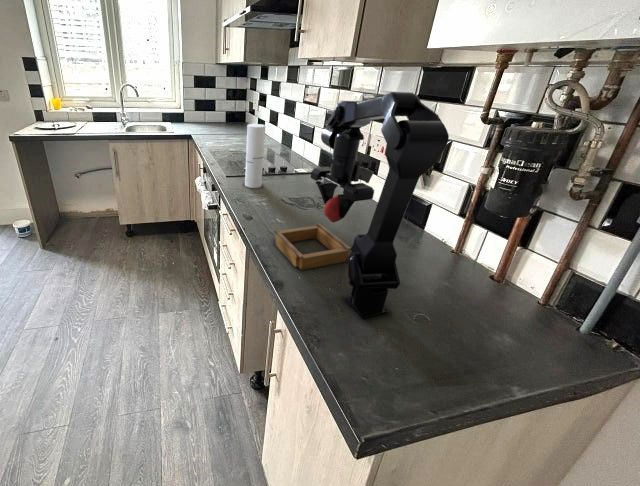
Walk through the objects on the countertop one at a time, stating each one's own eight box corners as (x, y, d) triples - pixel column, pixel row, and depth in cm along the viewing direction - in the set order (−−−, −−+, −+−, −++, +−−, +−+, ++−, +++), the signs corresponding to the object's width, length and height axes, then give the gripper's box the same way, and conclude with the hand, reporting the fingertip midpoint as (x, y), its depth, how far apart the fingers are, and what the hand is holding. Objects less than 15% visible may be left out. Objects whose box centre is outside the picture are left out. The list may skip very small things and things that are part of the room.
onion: (346, 220, 87) (351, 193, 84) (341, 228, 83) (346, 200, 79) (325, 215, 90) (329, 188, 87) (319, 223, 85) (323, 195, 82)
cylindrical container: (261, 188, 135) (265, 127, 124) (244, 187, 135) (247, 126, 124) (261, 182, 141) (264, 124, 130) (245, 182, 141) (247, 123, 130)
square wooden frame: (348, 261, 86) (351, 247, 84) (298, 270, 81) (300, 256, 80) (317, 235, 99) (319, 223, 97) (273, 241, 94) (274, 229, 92)
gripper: (399, 163, 73) (384, 224, 80) (347, 145, 89) (338, 197, 96) (359, 166, 70) (347, 230, 76) (313, 147, 85) (306, 201, 92)
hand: (334, 213), depth 85 cm, fingers closed on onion, 6 cm apart
